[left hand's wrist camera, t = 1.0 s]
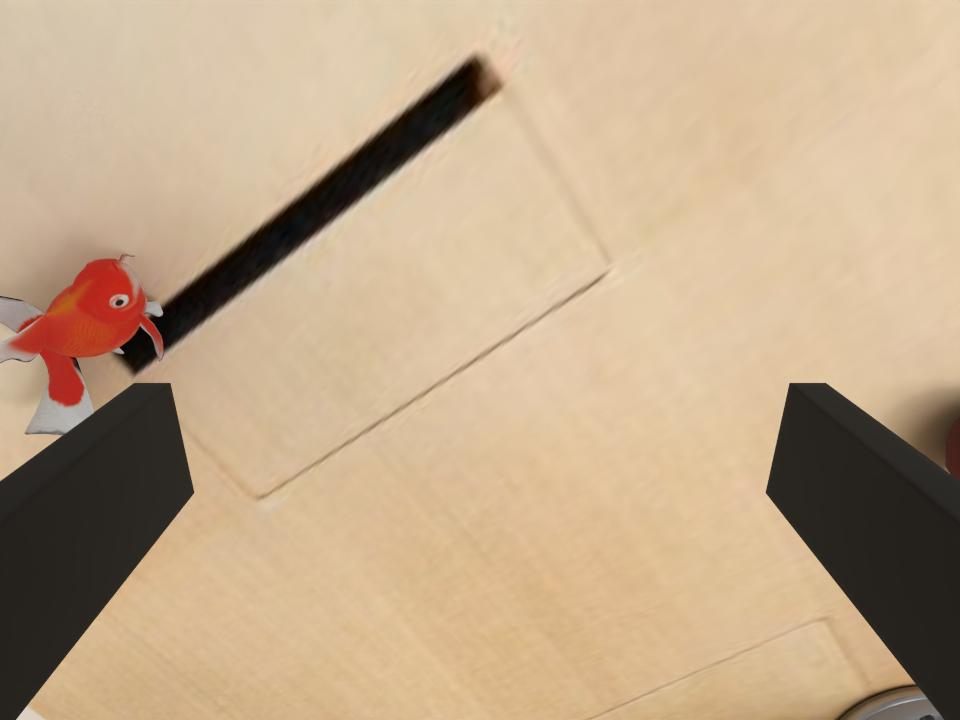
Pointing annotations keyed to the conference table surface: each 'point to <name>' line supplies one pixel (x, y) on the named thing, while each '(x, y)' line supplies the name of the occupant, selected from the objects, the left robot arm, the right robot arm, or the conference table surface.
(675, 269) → the conference table surface
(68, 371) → the fish
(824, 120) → the conference table surface
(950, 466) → the dark red ball
